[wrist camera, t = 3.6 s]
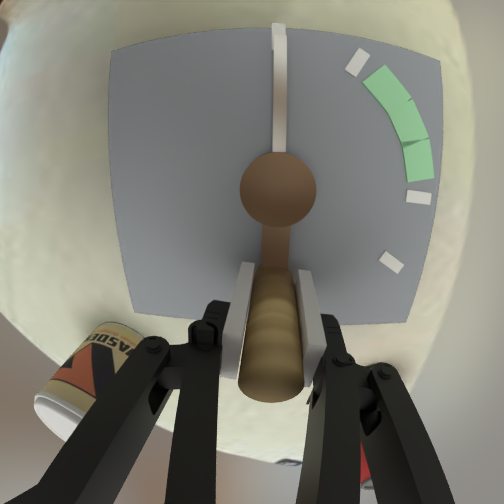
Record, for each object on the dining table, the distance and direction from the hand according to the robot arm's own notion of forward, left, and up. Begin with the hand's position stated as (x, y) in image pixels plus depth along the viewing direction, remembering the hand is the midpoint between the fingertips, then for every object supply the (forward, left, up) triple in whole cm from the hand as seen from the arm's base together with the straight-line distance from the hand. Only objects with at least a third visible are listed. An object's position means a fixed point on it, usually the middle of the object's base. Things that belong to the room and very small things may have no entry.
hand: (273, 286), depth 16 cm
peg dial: (-6, 0, -1) cm, 6 cm away
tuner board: (-6, 0, -4) cm, 7 cm away
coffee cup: (+11, -15, -4) cm, 19 cm away
